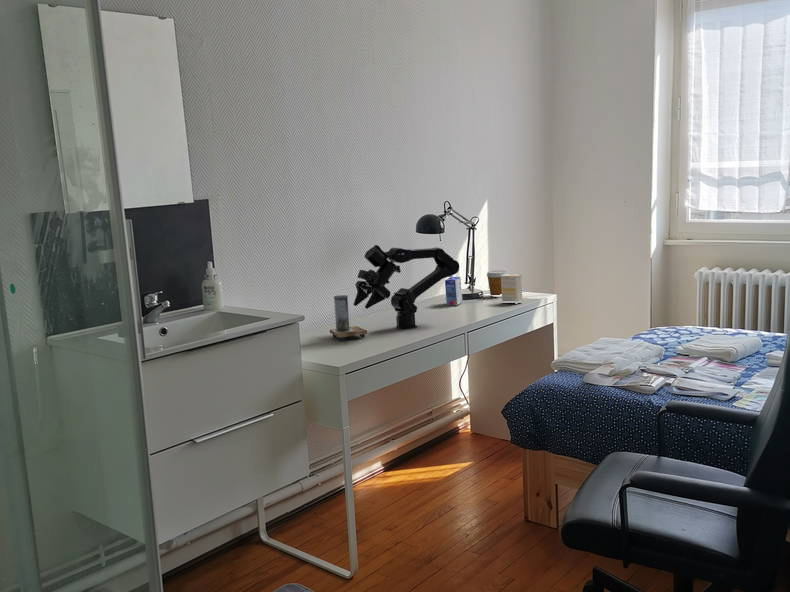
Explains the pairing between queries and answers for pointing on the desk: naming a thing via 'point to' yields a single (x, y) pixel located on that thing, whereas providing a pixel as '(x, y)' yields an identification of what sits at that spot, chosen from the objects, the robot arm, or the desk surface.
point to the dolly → (349, 332)
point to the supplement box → (511, 287)
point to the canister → (341, 312)
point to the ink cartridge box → (453, 290)
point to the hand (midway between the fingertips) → (360, 306)
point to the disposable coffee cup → (495, 281)
